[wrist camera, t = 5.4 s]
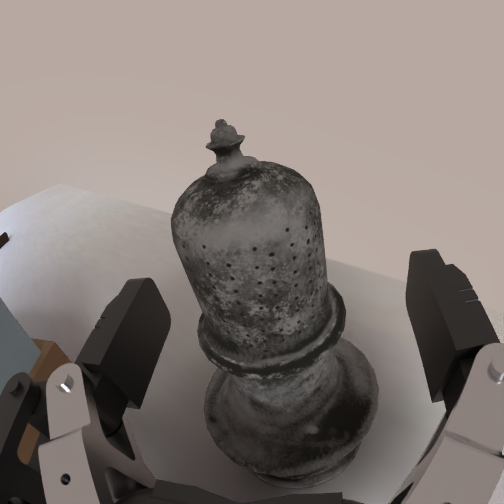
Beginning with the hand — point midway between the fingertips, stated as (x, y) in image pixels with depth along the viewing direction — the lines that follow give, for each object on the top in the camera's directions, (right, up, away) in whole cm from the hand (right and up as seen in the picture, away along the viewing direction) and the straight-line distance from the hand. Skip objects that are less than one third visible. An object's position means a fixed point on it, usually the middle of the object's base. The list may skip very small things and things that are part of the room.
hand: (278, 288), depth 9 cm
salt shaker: (+1, -7, +2) cm, 7 cm away
